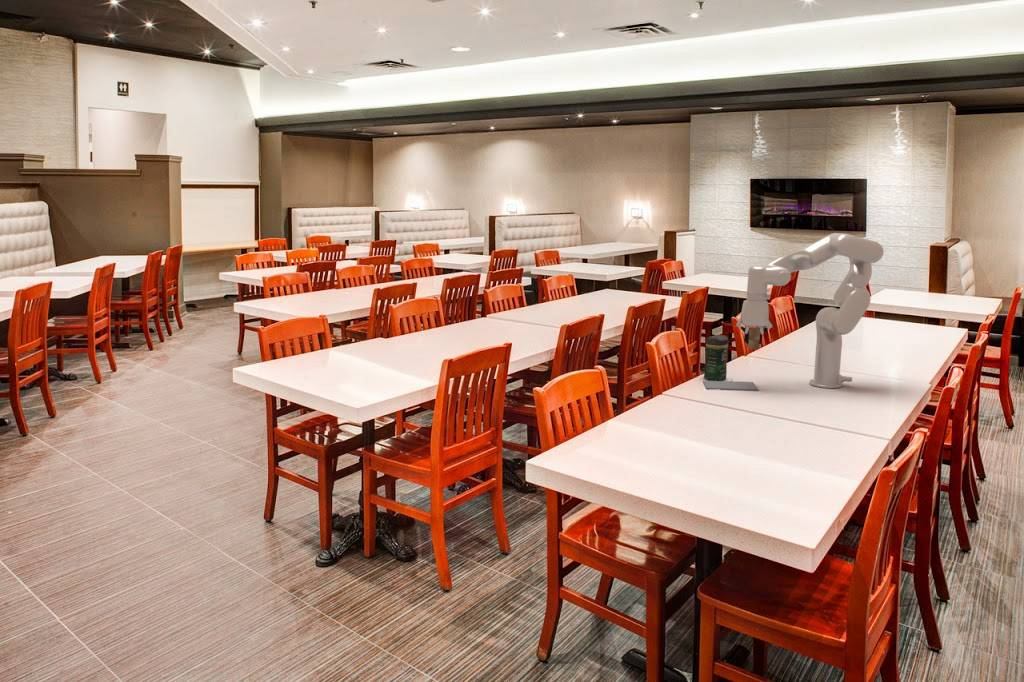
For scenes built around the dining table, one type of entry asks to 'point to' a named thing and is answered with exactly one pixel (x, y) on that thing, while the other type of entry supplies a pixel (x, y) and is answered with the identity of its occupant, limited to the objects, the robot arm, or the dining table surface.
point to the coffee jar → (716, 357)
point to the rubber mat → (730, 385)
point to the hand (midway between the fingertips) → (752, 343)
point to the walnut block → (753, 338)
